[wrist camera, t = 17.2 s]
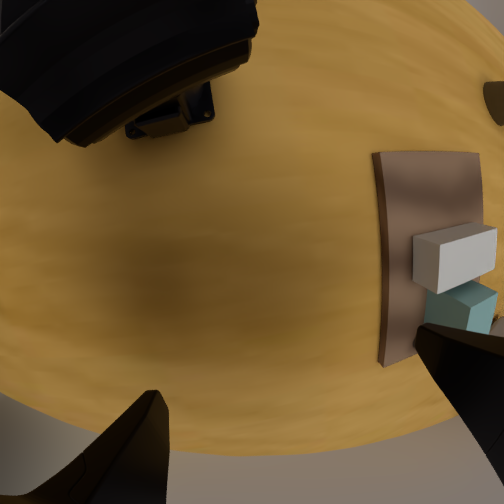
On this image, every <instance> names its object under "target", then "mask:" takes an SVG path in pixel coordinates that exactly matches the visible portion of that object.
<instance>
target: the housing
mask: <svg viewBox="0 0 504 504" xmlns="http://www.w3.org/2000/svg"><path fill="white" fill-rule="evenodd" d="M496 244H497V228H495V227H491V226H487V225H483V224H479V223H475V222H471V223H467V224H463V225H458V226H454V227H450V228H446V229H441V230H437V231H433V232H429V233H424V234H420V235H415V236H413V280H412V281H414V282H416V283H418V284H420V285H421V286H423V287H425V288H427V289H428V290H430V291H432V292H434V293H435V294H439V293H442V292H444V291H447V290H449V289H451V288H454V287H456V286H458V285H461V284H463V283H465V282H468V281H470V280H472V279H474V278H476V277H478V276H481V275H483V274H485V273H487V272H489V271H491V270H493V269H494V267H495V257H496Z"/></svg>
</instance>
